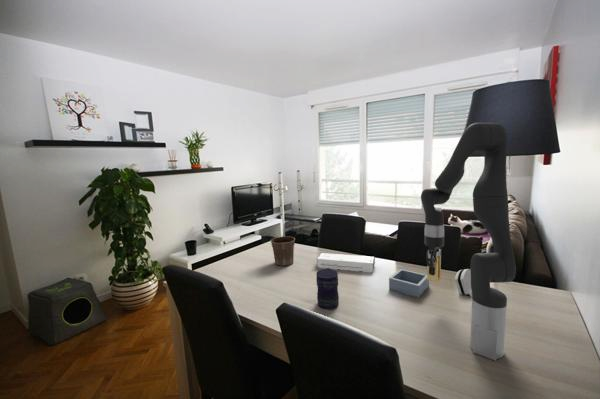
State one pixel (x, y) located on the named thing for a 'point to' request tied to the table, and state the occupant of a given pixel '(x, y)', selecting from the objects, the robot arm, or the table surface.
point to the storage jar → (327, 289)
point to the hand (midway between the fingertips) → (433, 272)
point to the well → (409, 283)
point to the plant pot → (283, 250)
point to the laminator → (346, 262)
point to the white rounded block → (464, 281)
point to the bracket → (437, 271)
